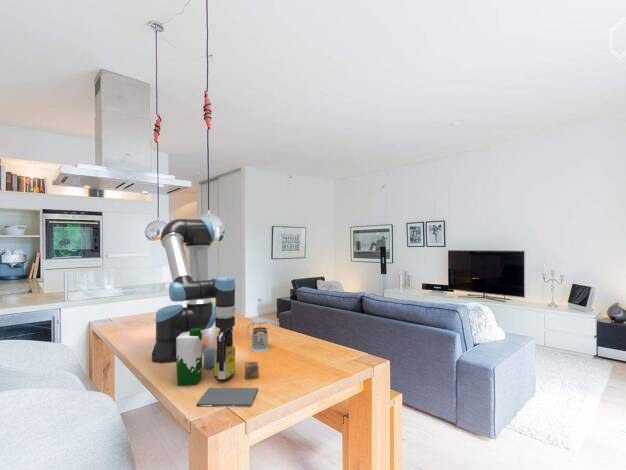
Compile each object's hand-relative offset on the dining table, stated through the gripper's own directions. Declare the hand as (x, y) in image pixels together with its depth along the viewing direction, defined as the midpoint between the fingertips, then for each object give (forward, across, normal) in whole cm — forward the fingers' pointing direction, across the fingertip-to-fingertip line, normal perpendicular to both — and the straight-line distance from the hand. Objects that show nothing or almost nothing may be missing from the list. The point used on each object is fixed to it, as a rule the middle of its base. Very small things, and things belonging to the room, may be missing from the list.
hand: (225, 374), depth 131 cm
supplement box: (+1, 0, 0) cm, 1 cm away
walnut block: (+1, +2, -10) cm, 10 cm away
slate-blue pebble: (+2, +11, +10) cm, 15 cm away
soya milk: (+2, -3, +13) cm, 13 cm away
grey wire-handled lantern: (+2, +36, -6) cm, 36 cm away
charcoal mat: (+1, -16, -6) cm, 17 cm away
